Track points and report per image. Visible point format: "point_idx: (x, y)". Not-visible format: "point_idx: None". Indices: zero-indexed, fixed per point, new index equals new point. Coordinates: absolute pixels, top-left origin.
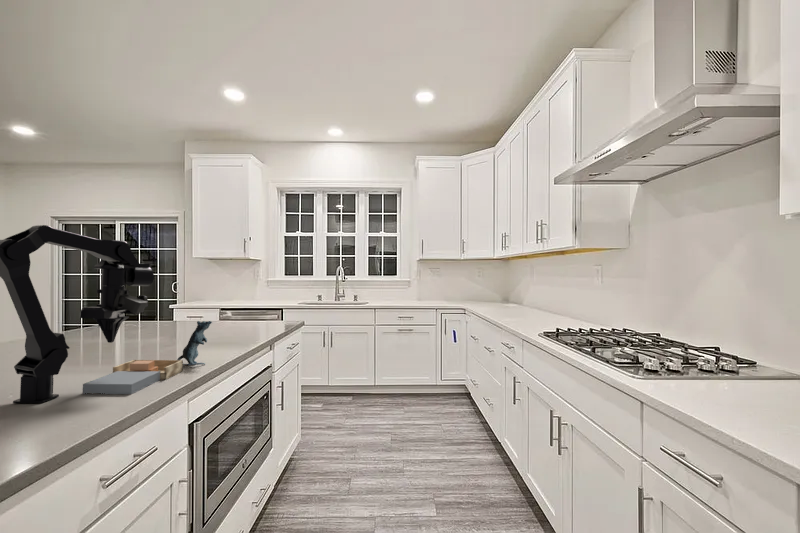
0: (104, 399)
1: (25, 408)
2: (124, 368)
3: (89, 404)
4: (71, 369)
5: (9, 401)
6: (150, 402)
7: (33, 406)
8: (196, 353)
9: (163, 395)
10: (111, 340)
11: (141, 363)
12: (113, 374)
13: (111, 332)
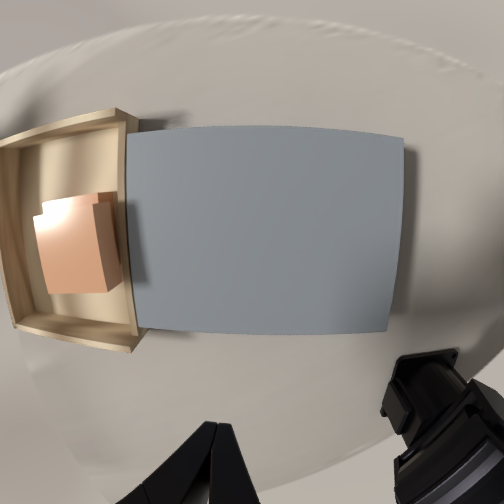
0: (444, 205)
1: (477, 350)
2: (76, 327)
3: (482, 222)
4: (81, 449)
5: None
6: (459, 63)
7: (468, 347)
8: None
9: (391, 39)
10: (233, 435)
11: (94, 240)
12: (206, 312)
13: (254, 494)
